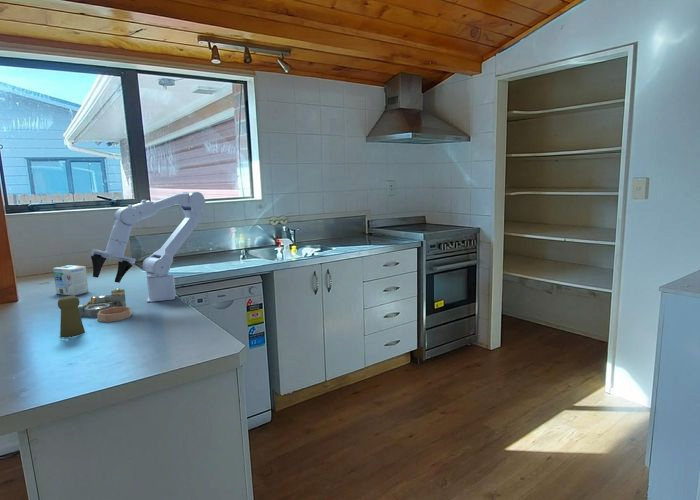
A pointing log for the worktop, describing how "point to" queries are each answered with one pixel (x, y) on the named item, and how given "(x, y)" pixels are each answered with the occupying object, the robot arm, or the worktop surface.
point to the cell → (118, 297)
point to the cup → (114, 314)
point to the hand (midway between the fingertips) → (106, 279)
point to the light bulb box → (71, 280)
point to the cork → (70, 317)
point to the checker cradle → (92, 312)
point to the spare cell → (101, 299)
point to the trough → (100, 303)
